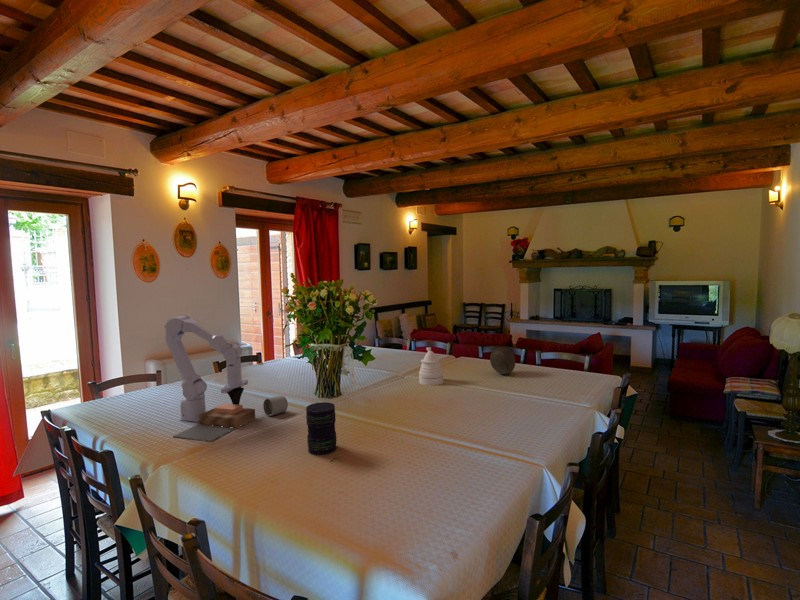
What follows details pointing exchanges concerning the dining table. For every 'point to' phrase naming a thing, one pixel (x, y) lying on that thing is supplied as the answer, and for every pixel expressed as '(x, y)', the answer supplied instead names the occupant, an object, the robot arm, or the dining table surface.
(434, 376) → the honey pot
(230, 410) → the salmon pink panel
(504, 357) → the dark brown round vase
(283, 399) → the grey cylinder
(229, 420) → the deck
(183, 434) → the mat
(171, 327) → the robot arm
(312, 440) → the storage jar
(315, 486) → the dining table surface
